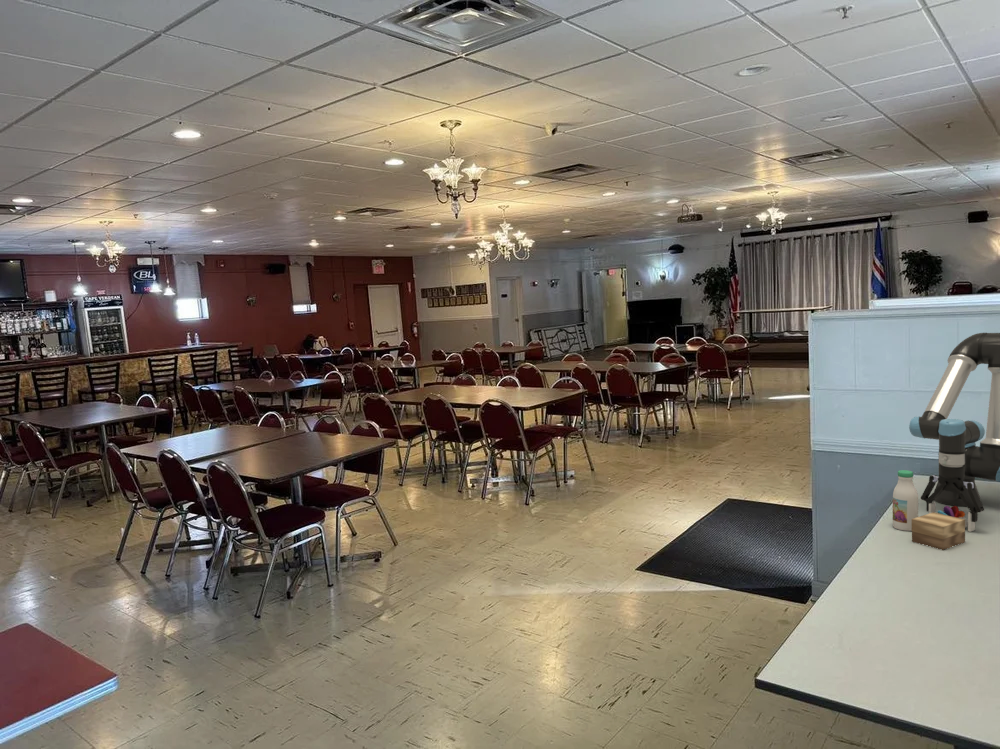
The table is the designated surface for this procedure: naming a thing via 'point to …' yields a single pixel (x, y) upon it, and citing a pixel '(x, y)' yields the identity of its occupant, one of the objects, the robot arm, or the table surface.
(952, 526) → the tower top
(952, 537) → the tower base
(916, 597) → the table surface
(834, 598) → the table surface
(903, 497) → the milk bottle
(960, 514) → the multicoloured petal toy
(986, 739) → the table surface
